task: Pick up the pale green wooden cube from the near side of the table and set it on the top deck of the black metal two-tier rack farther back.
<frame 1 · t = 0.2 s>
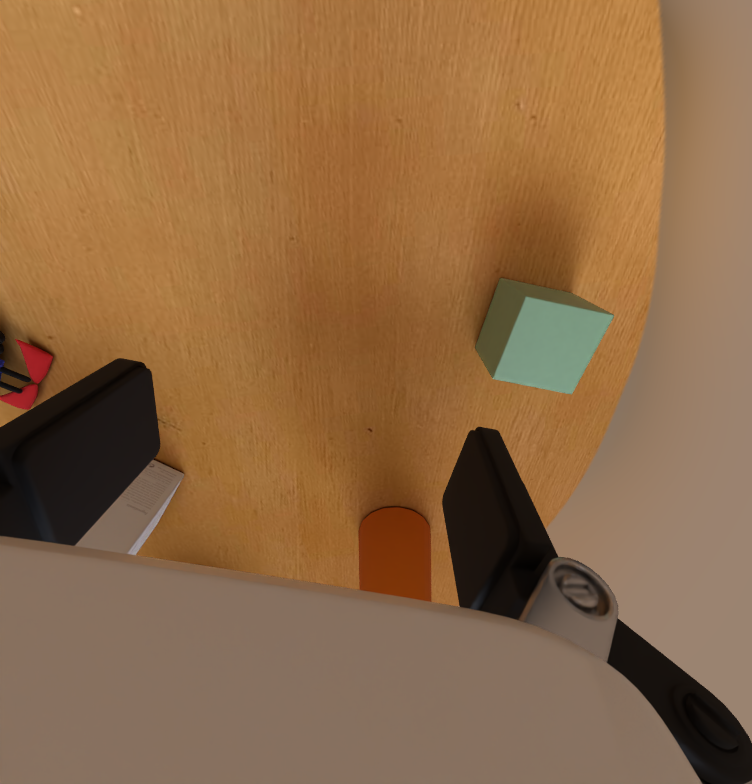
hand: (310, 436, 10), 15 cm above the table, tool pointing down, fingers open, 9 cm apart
small box: (145, 484, 33), on the table
cube: (521, 321, 24), on the table
spray bottle: (380, 537, 35), on the table
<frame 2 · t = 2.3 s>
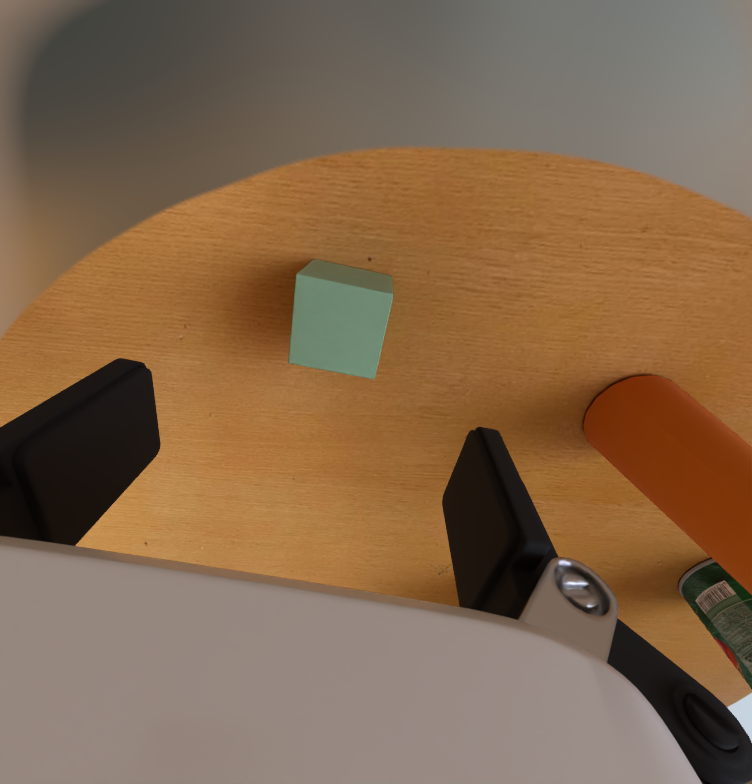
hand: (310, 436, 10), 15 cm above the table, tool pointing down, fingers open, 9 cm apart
canned tomato: (717, 576, 36), on the table
cube: (346, 305, 23), on the table
spray bottle: (637, 428, 28), on the table
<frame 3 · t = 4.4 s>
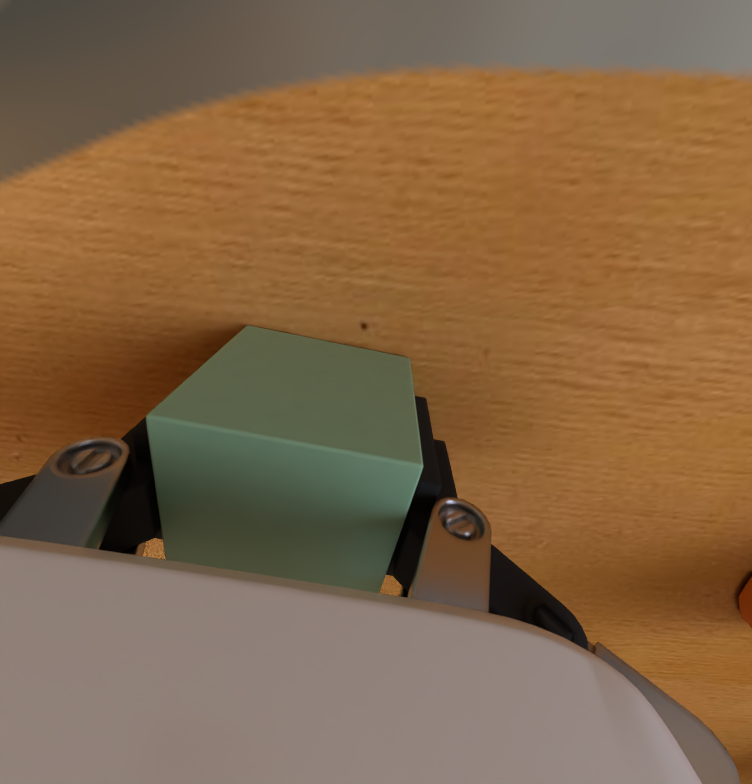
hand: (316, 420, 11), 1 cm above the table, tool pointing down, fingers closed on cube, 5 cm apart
cube: (319, 409, 12), on the table, touching gripper
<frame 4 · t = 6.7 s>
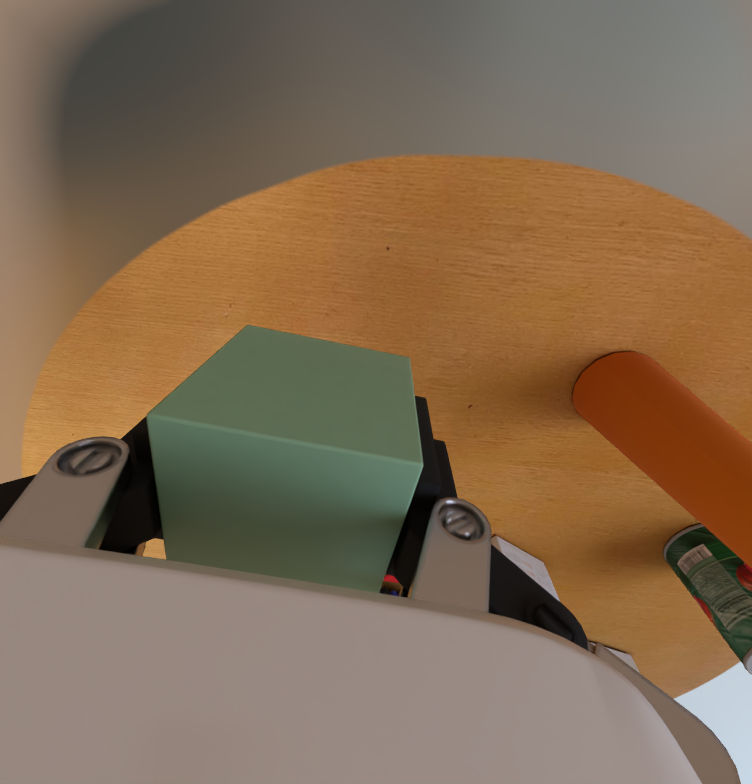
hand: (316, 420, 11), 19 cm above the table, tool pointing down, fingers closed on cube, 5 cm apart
canned tomato: (699, 544, 39), on the table
small box: (503, 558, 42), on the table
cube: (319, 409, 12), point 18 cm above the table, touching gripper
spray bottle: (621, 401, 31), on the table
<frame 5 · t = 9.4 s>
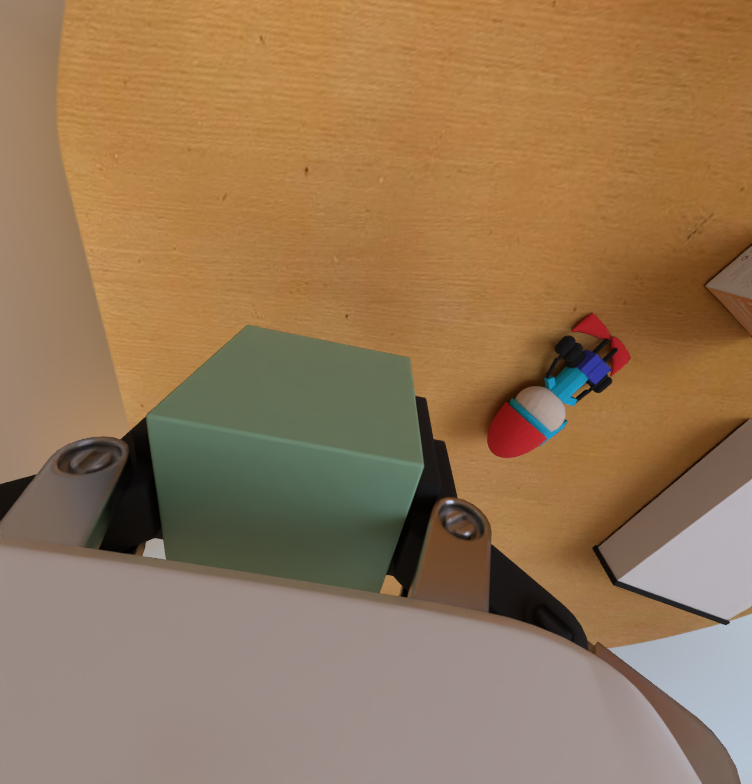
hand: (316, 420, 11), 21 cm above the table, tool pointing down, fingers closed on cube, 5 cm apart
toy figure: (542, 387, 34), on the table
disc drive: (715, 513, 42), on the table
cube: (320, 409, 12), point 21 cm above the table, touching gripper
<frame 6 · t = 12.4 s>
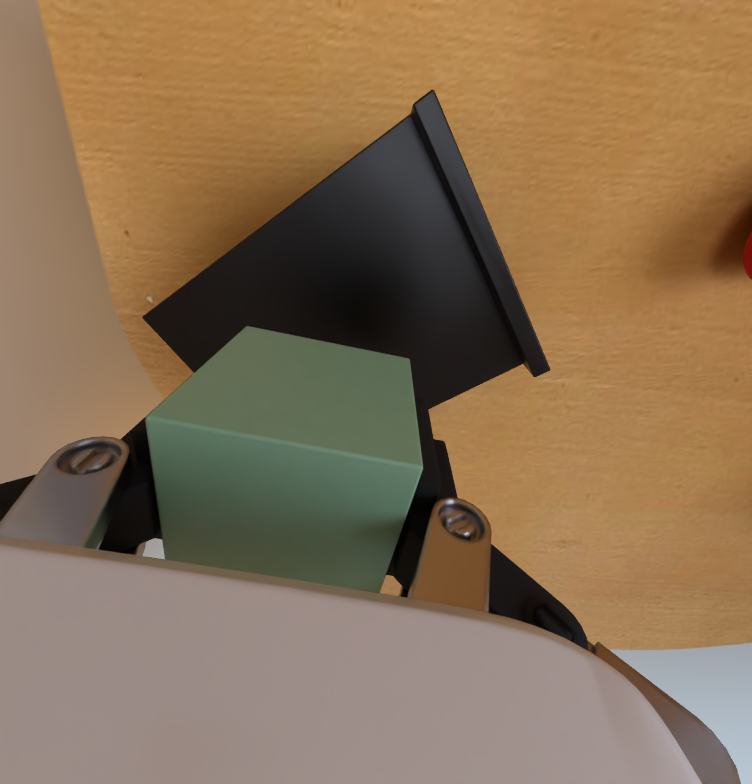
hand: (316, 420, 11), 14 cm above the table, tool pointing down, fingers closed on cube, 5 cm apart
rack: (353, 302, 23), on the table
cube: (319, 410, 12), point 13 cm above the table, touching gripper
when the fingers open (7 cm above the table, at t = 14.4 s): cube stays where it is, resting on rack.
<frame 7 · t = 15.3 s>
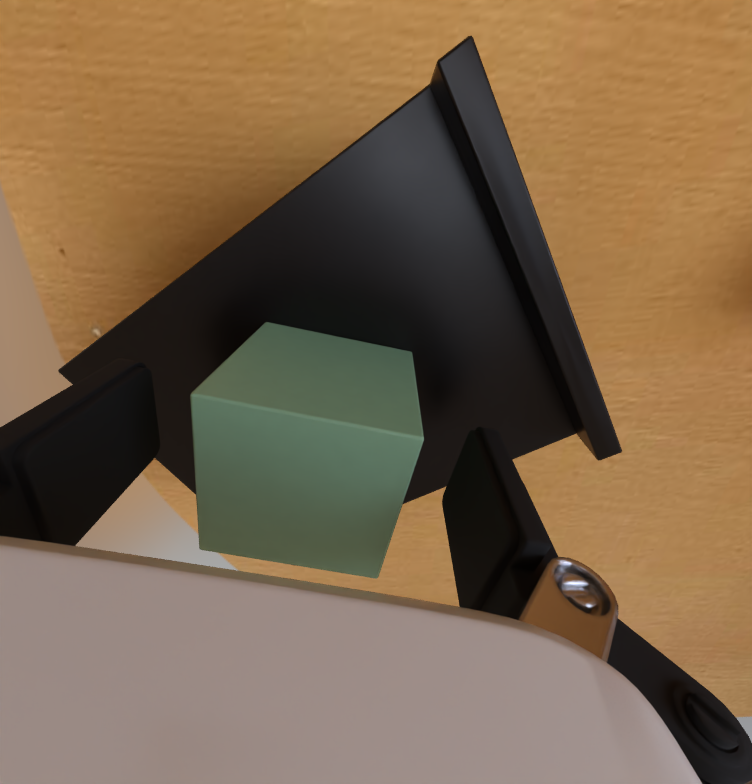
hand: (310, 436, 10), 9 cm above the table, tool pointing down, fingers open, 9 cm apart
rack: (348, 337, 19), on the table
cube: (329, 399, 13), point 7 cm above the table, touching rack
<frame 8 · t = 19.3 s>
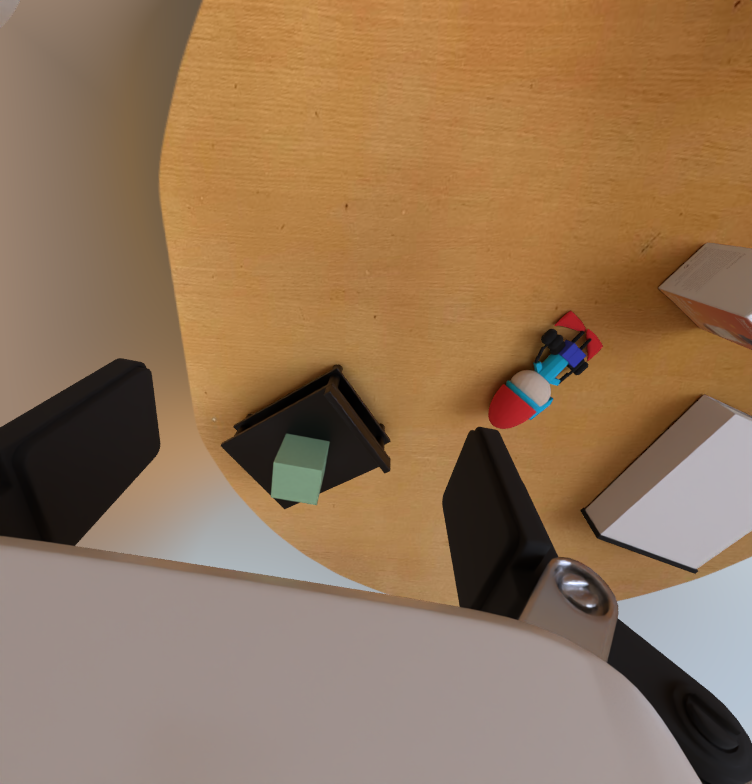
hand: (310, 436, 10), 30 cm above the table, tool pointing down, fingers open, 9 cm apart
toy figure: (533, 371, 42), on the table
small box: (701, 287, 37), on the table
rack: (315, 422, 47), on the table
disc drive: (682, 477, 49), on the table
cube: (305, 454, 41), point 7 cm above the table, touching rack
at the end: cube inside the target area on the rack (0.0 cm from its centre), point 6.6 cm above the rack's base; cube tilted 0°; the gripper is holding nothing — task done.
